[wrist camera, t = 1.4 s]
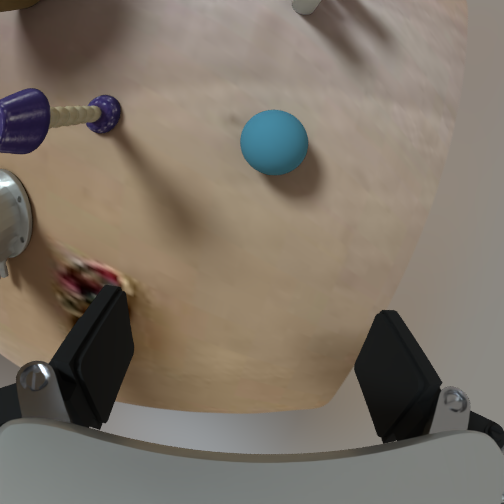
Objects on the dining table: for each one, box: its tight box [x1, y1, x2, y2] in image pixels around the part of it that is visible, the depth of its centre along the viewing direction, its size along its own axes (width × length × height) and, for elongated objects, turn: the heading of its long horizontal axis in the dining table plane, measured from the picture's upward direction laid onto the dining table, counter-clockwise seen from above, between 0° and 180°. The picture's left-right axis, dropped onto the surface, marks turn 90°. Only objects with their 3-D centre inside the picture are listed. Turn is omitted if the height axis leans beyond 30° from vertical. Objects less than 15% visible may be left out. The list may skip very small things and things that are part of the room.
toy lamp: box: [0, 88, 121, 154], centre depth 17 cm, size 5×5×17 cm
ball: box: [240, 110, 308, 175], centre depth 24 cm, size 6×6×6 cm
